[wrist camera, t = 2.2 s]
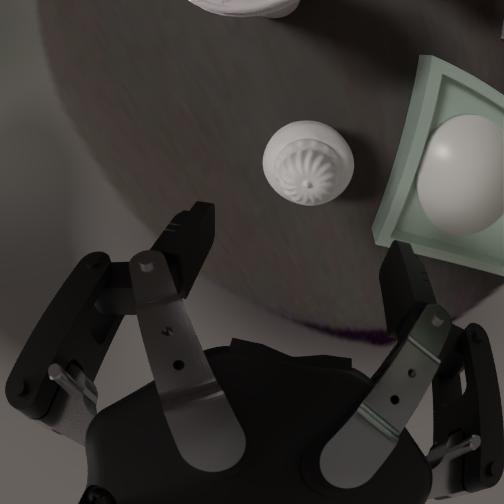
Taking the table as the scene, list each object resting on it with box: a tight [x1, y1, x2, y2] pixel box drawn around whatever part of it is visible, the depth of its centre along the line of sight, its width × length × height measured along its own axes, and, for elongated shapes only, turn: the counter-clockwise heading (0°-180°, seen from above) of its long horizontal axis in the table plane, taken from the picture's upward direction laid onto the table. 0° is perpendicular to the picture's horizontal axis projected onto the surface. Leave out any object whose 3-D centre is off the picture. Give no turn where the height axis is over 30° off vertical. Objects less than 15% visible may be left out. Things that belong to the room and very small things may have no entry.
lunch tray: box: [372, 55, 504, 276], centre depth 16 cm, size 16×18×2 cm
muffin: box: [263, 121, 354, 206], centre depth 18 cm, size 6×6×7 cm
